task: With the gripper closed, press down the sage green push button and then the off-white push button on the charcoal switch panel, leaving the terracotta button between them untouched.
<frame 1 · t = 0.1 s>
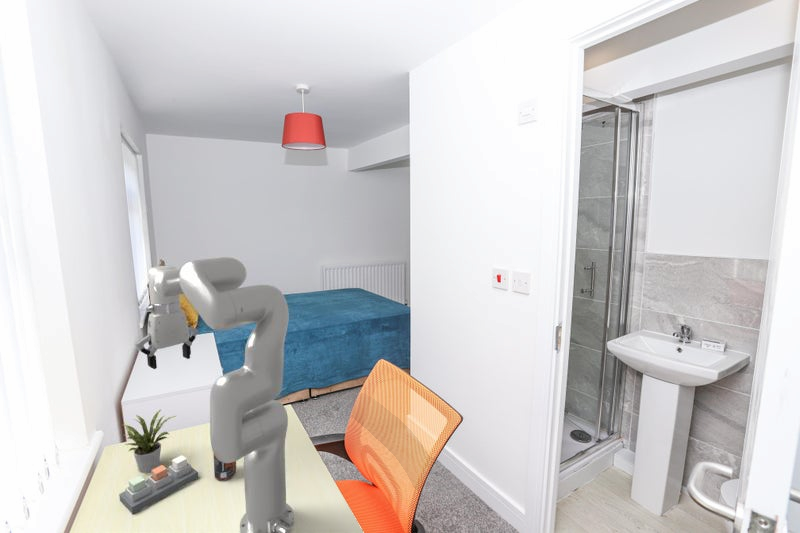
hand: (170, 362, 120), 31 cm above the table, tool pointing down, fingers open, 9 cm apart
supplement bottle: (225, 475, 117), on the table
house plant: (154, 465, 121), on the table
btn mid: (159, 473, 110), point 5 cm above the table, slide at 0.0 cm
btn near: (137, 484, 106), point 5 cm above the table, slide at 0.0 cm
panel: (160, 489, 111), on the table
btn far: (179, 463, 114), point 5 cm above the table, slide at 0.0 cm
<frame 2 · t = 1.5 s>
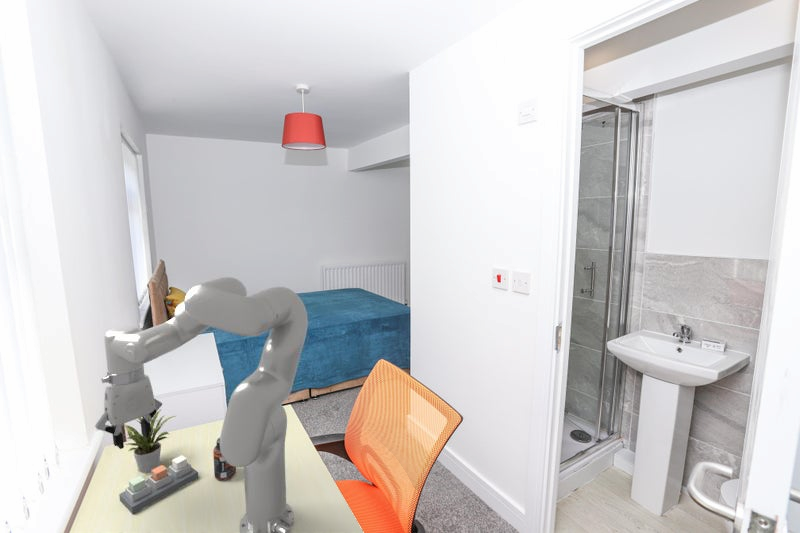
hand: (133, 440, 104), 17 cm above the table, tool pointing down, fingers open, 5 cm apart
nothing on the table moved.
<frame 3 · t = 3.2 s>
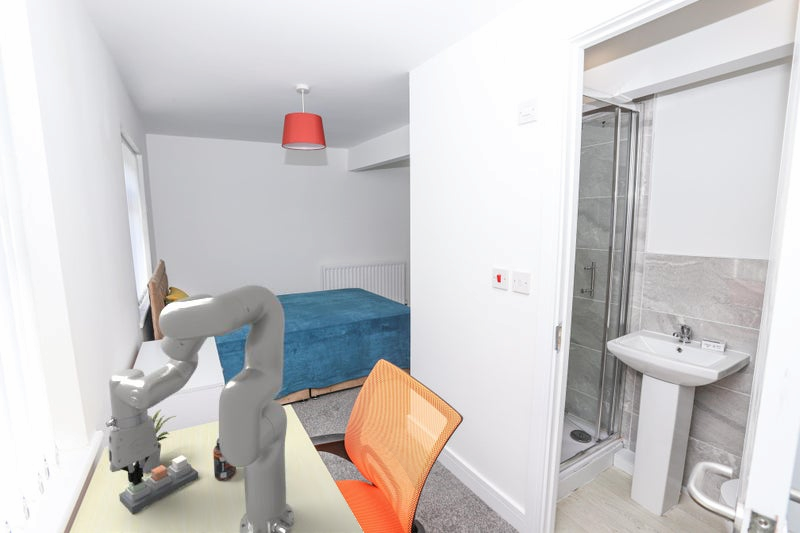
hand: (136, 481, 105), 6 cm above the table, tool pointing down, fingers closed
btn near: (137, 486, 106), point 4 cm above the table, slide at 0.5 cm, touching gripper
everything else where it was.
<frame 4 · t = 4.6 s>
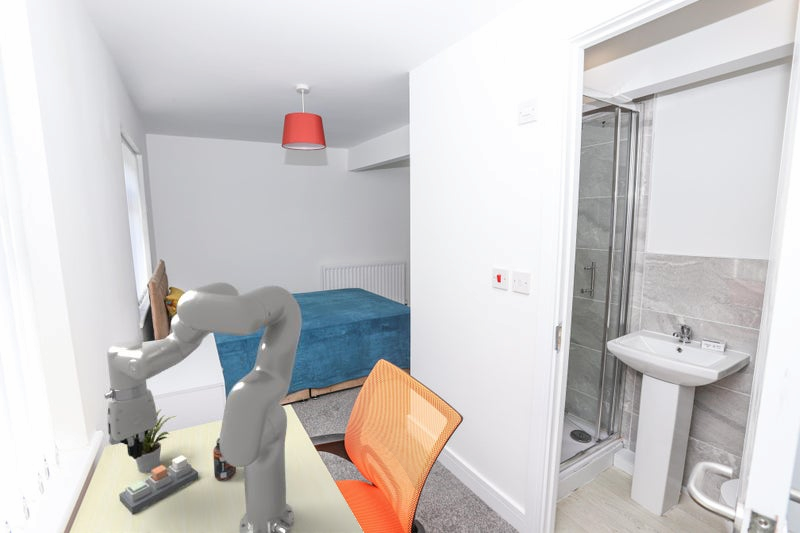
hand: (136, 455, 105), 13 cm above the table, tool pointing down, fingers closed
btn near: (137, 489, 106), point 3 cm above the table, slide at 1.5 cm, touching panel
everything else where it was.
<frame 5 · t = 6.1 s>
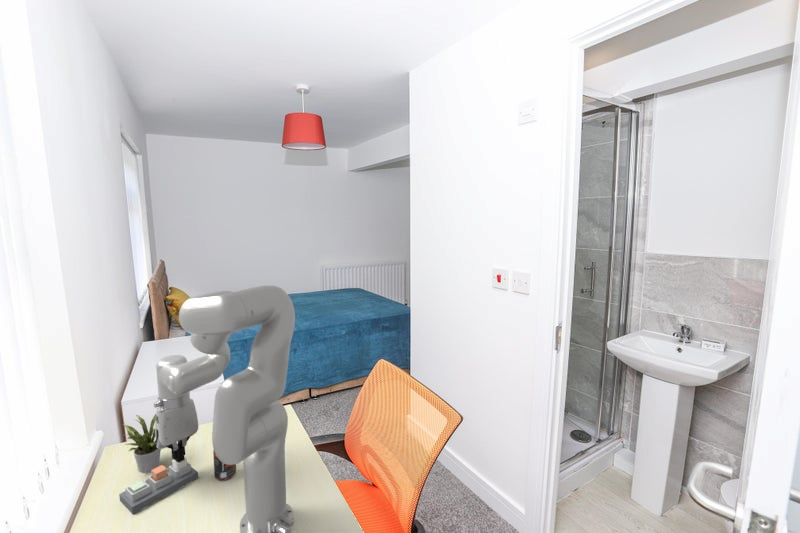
hand: (179, 459, 114), 6 cm above the table, tool pointing down, fingers closed
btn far: (179, 463, 114), point 5 cm above the table, slide at 0.1 cm, touching gripper
everything else where it was.
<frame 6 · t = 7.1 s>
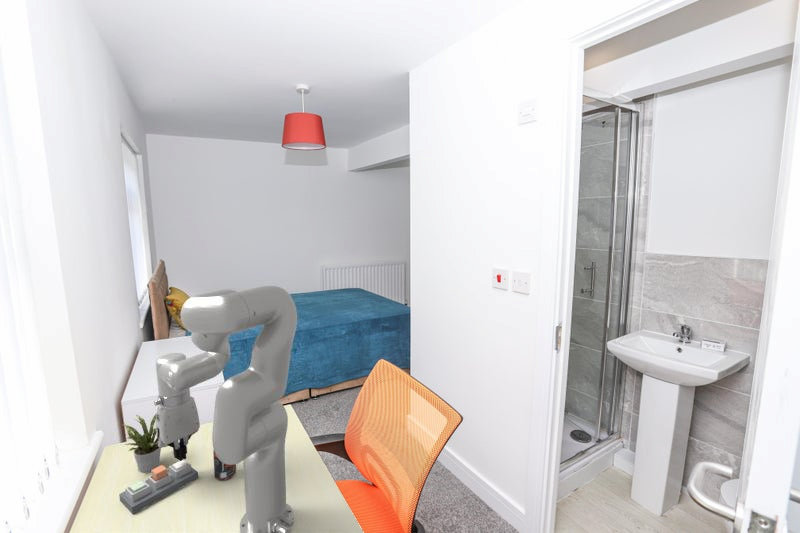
hand: (180, 458, 114), 7 cm above the table, tool pointing down, fingers closed
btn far: (180, 468, 115), point 3 cm above the table, slide at 1.5 cm, touching panel
everything else where it was.
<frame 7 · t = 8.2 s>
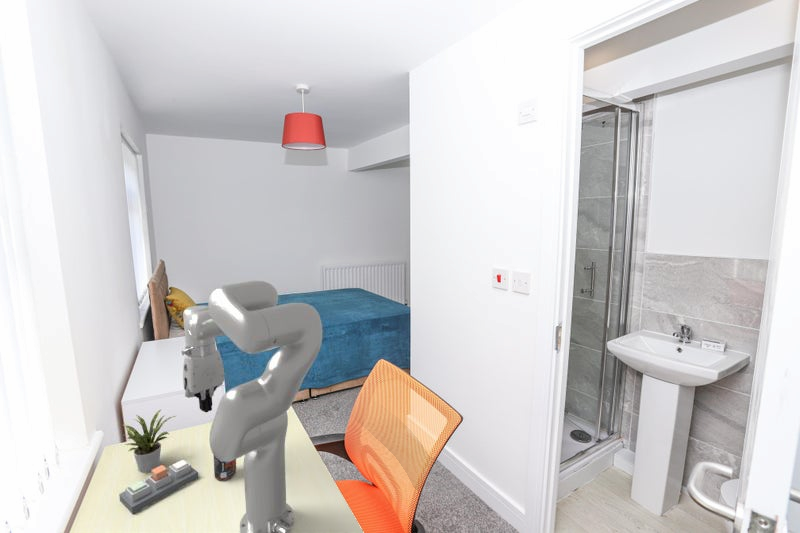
hand: (206, 410, 115), 20 cm above the table, tool pointing down, fingers closed
nothing on the table moved.
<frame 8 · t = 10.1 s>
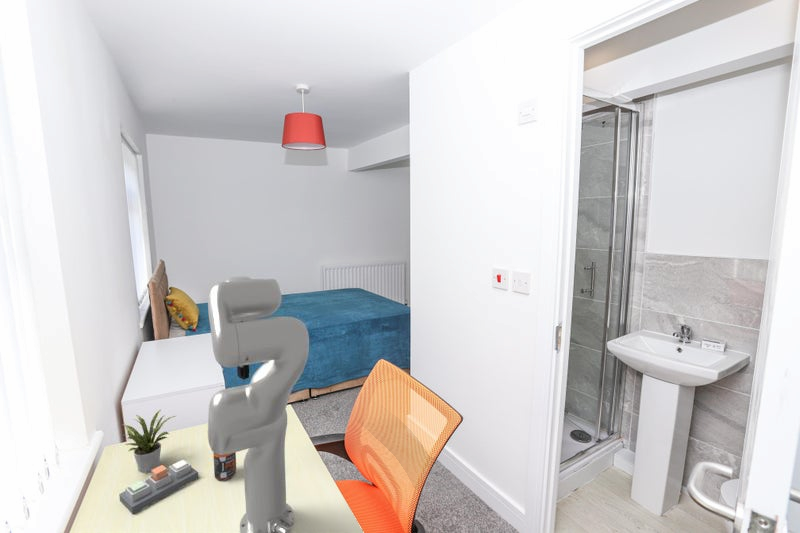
hand: (243, 377, 120), 27 cm above the table, tool pointing down, fingers closed
nothing on the table moved.
at the end: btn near slide at 1.5 cm; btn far slide at 1.5 cm; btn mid slide at 0.0 cm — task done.
